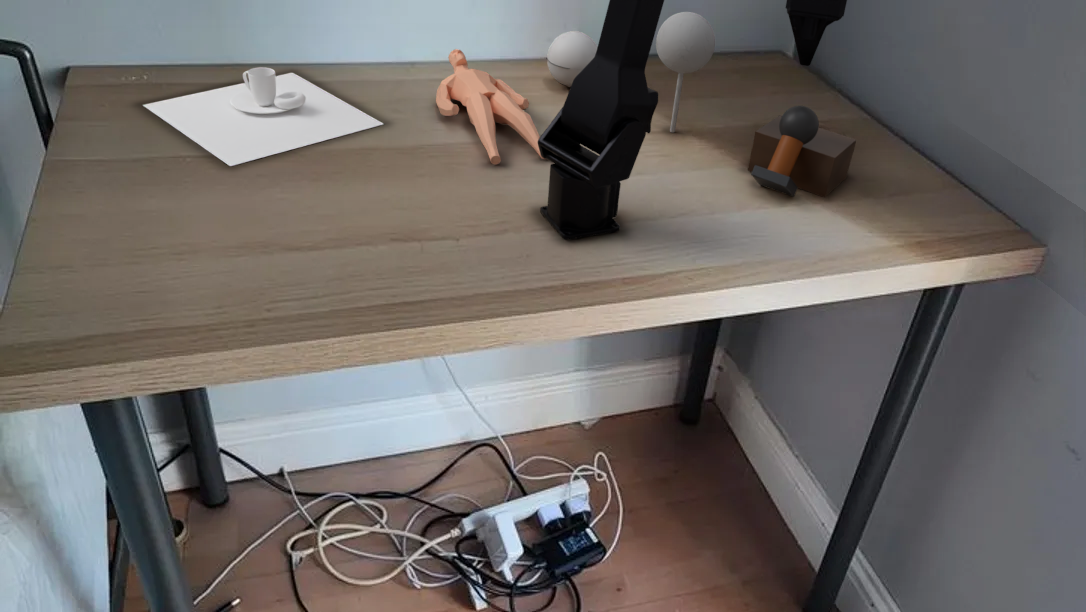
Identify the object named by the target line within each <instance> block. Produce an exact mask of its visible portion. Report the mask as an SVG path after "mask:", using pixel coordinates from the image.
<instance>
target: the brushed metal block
mask: <svg viewBox="0 0 1086 612" xmlns="http://www.w3.org/2000/svg"><path fill="white" fill-rule="evenodd" d="M781 117H782V114H779V115H778V116H776V117H775V118H773V119H772V120H770V121H769V122H767V123H766V124H765V125H763V126H761V127H760V128H758V129H757V130H755V131H754V135H753V137H754V138H753V141H752V145H751V146H752V147H751V151H750V156H749V162H748V166H747V171H748V172H751V173H752V171H753V168H754V166H755V165H757V166H759V167H762V168H765V169H768V166H769V164H770V162H771V160H772V157H773V155H774V153H775V150H776V148H777V146H778V144H779V141H780V139H781V137H782V136H781V133H780V130H779V123H780V119H781ZM856 143H857V139H856V138H853V137H850V136H847V135H843V134H841V133H838V132H834V131H831V130H828V129H826V128H822V127H819V128H818V132H817V134H816V136H815V137H814V138H813V139H812V140H811V141H810V142H808V143H806V144H804V145H803V146H802V148H801V151H800V153H799V155H798V157H797V160H796V162H795V164H794V167H793V169H792V171H791V173H790V176H789V177H790V178H791V179H792V180H793V182H794V183H795V184H796V186H797V187H798V188H797V189H800V190H803V191H805V192H808V193H811V194H814V195H817V196H820V197H822V198H826V197H827V196H828V195H829V194H830V193H831V192H832V191H833V190H835V189H836V187H838V186H839V185H841V183H842V182H843V181H845V180H846V179H847V176H848V172H849V169H850V165H851V161H852V158H853V154H854V150H855V147H856Z"/></svg>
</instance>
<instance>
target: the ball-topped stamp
mask: <svg viewBox="0 0 1086 612" xmlns="http://www.w3.org/2000/svg"><path fill="white" fill-rule="evenodd" d="M781 116H782V117H781V119H780V123H779V130H780V133H781V136H782V137H781V139H780V141H779V144H778V146H777V148H776V150H775V153H774V155H773V157H772V160H771V162H770V164H769V166H768V169H765V168H762V167H759V166H757V165H755V166H754V168H753V171H752V172H751V173H750V176H751V177H752V178H753V179H754V180H755V181H756V182H757V183H758V184H759V186H762V187H765V188H767V189H771V190H773V191H776V192H779V193H782V194H785V195H788V196H791V197H795V195H796V193H797V190H798V189H799V188H798V187H797V186H796V184H795V183H794V182H793V180H792V179H791V178H790V177H789V176H790V173H791V171H792V169H793V167H794V164H795V162H796V160H797V157H798V155H799V153H800V151H801V148H802V146H803V145H804V144H806V143H808V142H810V141H811V140H812V139H813V138H814V137H815V136H816V134H817V132H818V128H820V121H819V117H818V115H817V114H816V112H815V111H814V110H813V109H812V108H810V107H808V106H805V105H794V106H792V107H790V108H788V109H787V110H786V111H785V112H784V113H783V114H781Z"/></svg>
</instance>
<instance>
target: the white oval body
mask: <svg viewBox="0 0 1086 612" xmlns="http://www.w3.org/2000/svg"><path fill="white" fill-rule="evenodd" d="M597 47H598V44H597V43H596V41H594V39H593V38H592V37H591V36H590V35H588V34H586V33H584V32H582V31H578V30H570V31H566V32H563V33H561V34H559V35H558V36H557V37H555V38H554V39H553V41H552V42H551V44H550V46H549V47H548V49H547V54H546V62H547V68H548V70H549V74H550V75H551V76H552V77H553V79H554V80H556V82H557V83H558V84H561V85H563V86H566V87H568V88H571V85H572V83H573V80H574V78H575V77H576V76H577V75H578V74H579V73H580V72H581V71H582V70H583V69H584V68H585V66H586V65H587V64H588V63H589V62H590V61H591V60H592V59H593V58H594V57H595V54H596V51H597Z"/></svg>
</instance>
